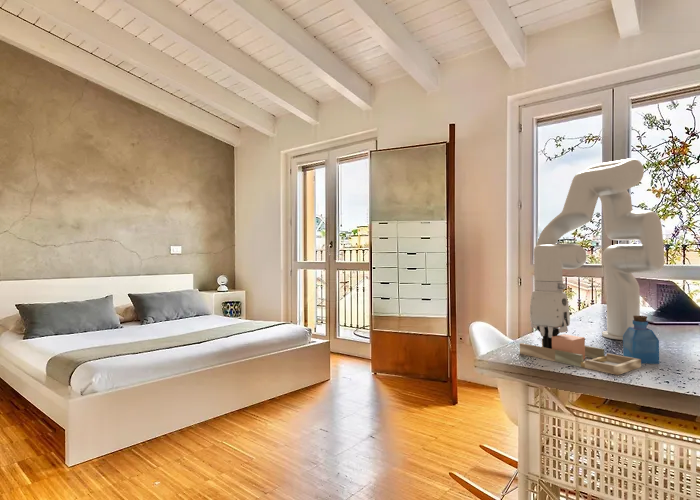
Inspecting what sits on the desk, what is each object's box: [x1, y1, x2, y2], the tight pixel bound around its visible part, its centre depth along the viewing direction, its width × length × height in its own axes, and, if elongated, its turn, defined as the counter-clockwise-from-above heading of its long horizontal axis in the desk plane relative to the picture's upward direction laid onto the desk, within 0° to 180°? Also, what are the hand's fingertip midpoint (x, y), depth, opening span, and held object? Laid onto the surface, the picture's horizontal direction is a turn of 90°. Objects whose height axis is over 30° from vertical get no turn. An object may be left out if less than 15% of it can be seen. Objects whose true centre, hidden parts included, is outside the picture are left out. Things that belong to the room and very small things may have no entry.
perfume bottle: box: [622, 315, 660, 365], centre depth 117 cm, size 6×6×12 cm
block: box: [552, 333, 586, 361], centre depth 120 cm, size 6×6×6 cm
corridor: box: [519, 338, 642, 376], centre depth 119 cm, size 12×27×3 cm, turn 33°
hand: (549, 350), depth 125 cm, fingers closed
